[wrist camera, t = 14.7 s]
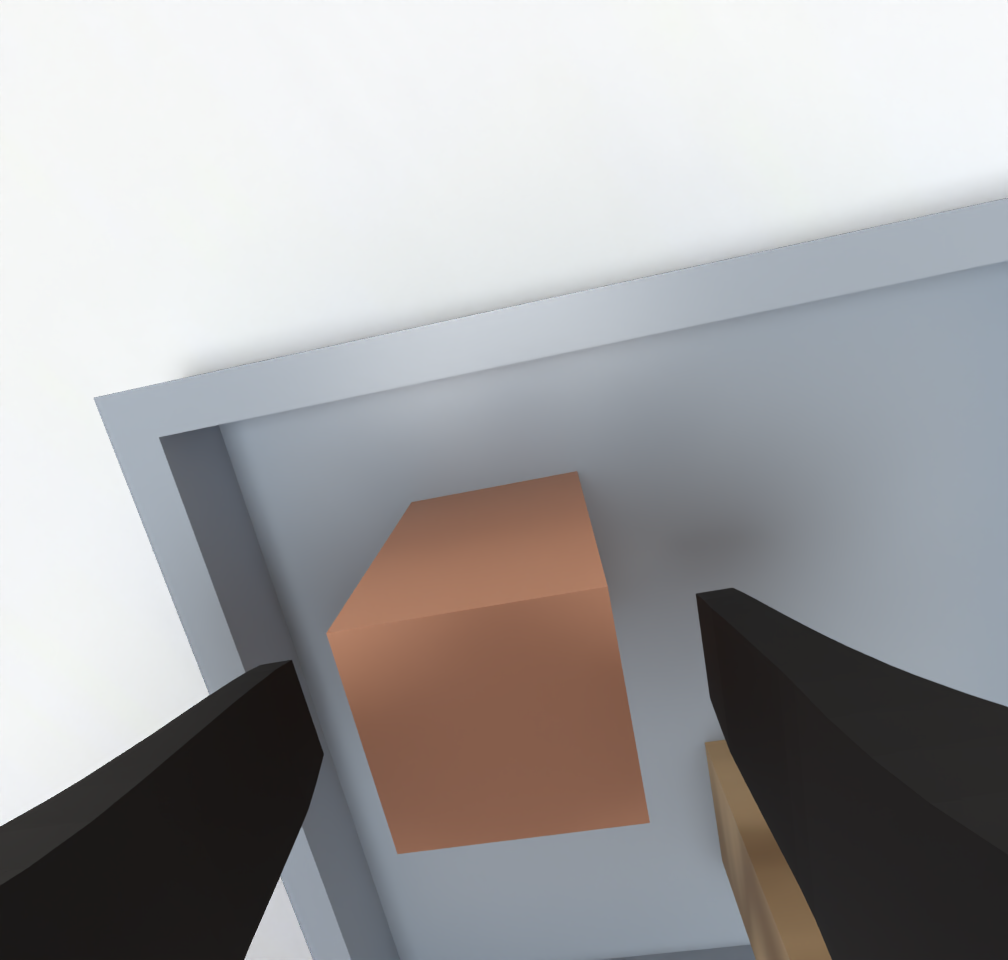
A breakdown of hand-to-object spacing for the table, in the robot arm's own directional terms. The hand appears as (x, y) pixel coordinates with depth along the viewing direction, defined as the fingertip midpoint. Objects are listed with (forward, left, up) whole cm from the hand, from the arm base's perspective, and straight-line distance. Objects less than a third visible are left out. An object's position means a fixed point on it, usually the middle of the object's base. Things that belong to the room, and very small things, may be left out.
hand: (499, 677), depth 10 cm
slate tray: (-4, -3, -5) cm, 7 cm away
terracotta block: (0, 0, -4) cm, 4 cm away
